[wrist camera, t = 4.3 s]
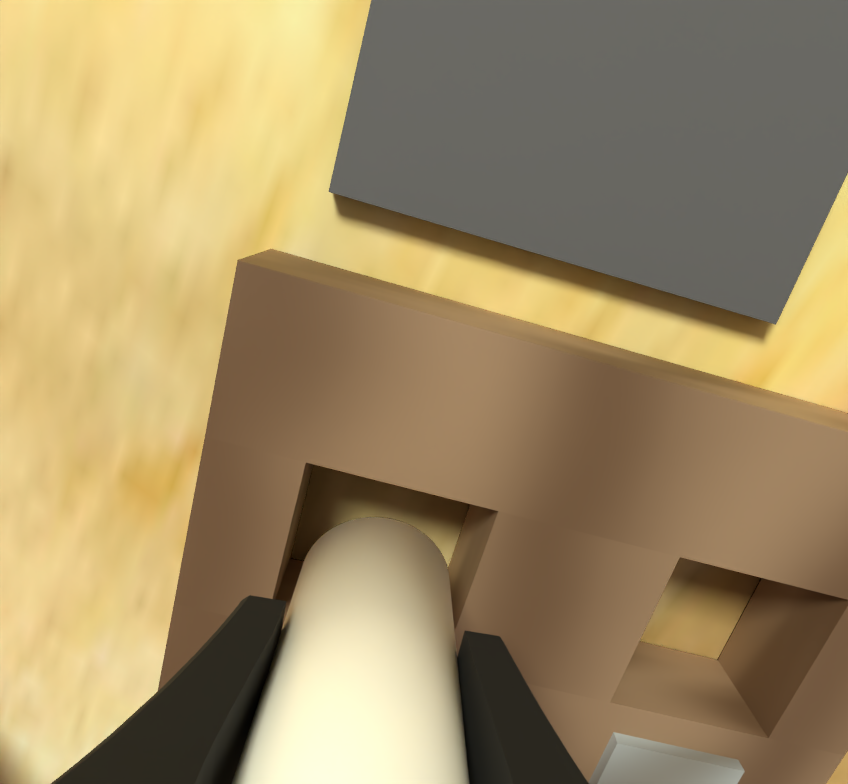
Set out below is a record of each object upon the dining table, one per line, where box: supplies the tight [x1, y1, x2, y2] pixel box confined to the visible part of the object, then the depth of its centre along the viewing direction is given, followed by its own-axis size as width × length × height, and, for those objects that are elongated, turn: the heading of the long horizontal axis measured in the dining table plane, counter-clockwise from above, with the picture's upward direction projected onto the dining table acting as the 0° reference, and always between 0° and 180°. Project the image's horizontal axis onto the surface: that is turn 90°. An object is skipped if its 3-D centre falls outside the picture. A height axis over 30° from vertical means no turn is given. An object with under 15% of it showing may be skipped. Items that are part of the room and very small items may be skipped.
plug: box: [232, 517, 469, 784], centre depth 8 cm, size 3×3×9 cm
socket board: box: [158, 249, 848, 784], centre depth 14 cm, size 16×11×3 cm
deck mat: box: [329, 0, 848, 324], centre depth 12 cm, size 10×8×1 cm
